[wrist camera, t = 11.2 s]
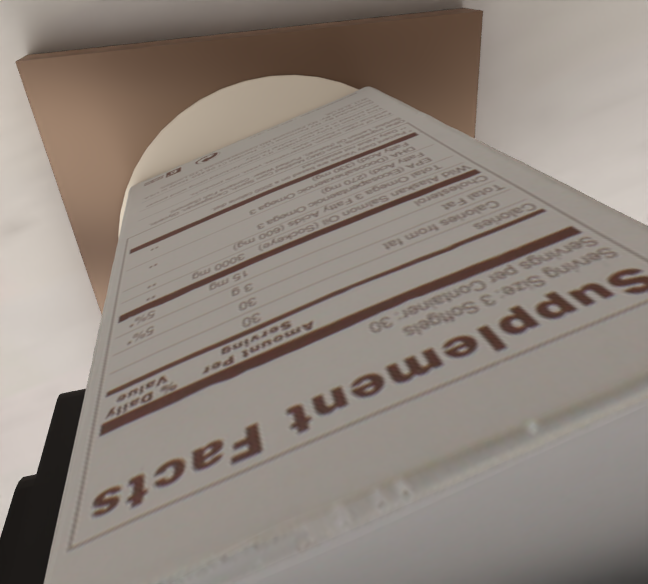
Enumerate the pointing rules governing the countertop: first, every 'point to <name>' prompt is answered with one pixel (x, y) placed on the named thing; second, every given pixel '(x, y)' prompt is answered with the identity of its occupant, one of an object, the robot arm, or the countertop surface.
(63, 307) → the countertop surface
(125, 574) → the supplement box
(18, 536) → the robot arm
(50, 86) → the board
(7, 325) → the countertop surface
